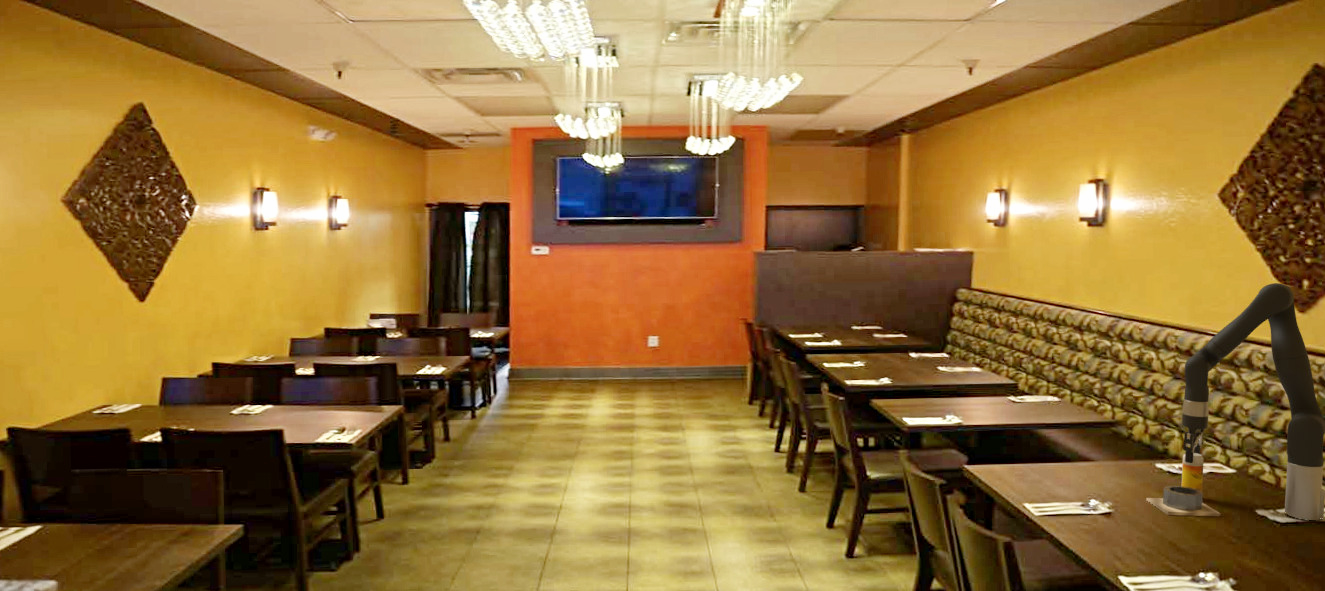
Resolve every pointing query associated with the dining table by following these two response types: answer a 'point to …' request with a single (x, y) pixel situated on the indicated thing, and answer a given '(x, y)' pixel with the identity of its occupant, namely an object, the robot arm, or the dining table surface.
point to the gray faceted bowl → (1182, 498)
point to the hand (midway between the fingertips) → (1192, 460)
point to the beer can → (1193, 472)
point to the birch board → (1172, 511)
